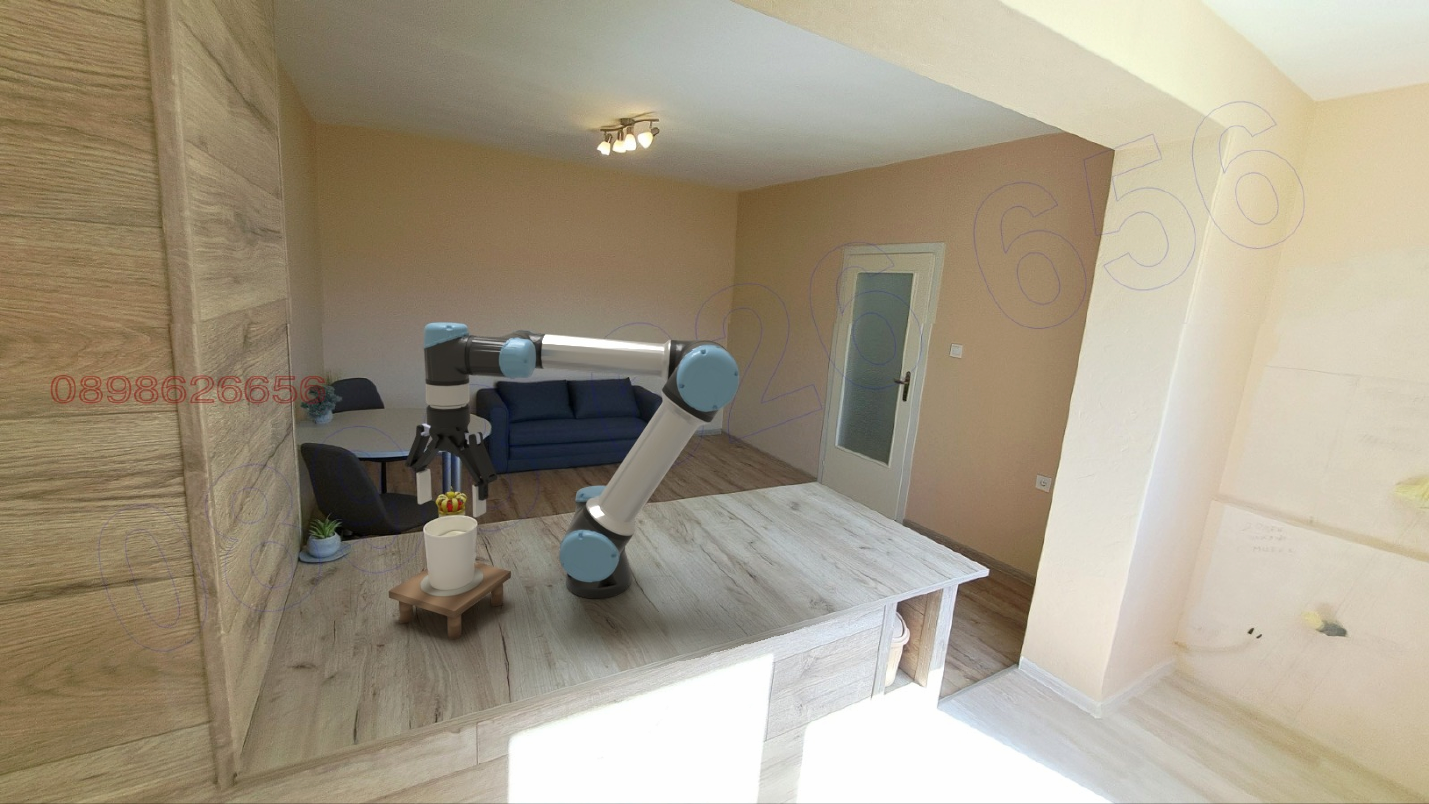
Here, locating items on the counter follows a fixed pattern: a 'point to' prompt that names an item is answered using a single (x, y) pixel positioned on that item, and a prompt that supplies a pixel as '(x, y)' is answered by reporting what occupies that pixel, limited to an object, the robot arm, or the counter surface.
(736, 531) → the counter surface
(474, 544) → the candle holder
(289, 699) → the counter surface
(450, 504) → the toy
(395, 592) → the footstool
